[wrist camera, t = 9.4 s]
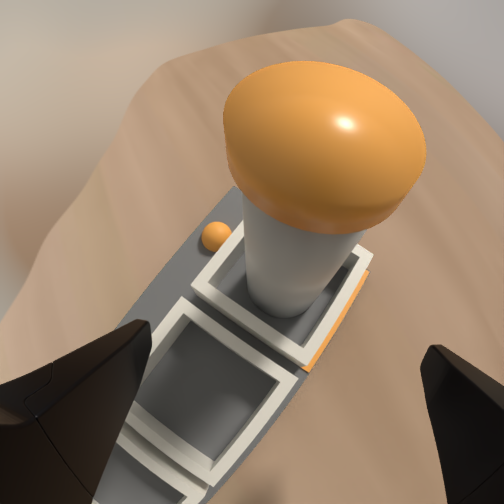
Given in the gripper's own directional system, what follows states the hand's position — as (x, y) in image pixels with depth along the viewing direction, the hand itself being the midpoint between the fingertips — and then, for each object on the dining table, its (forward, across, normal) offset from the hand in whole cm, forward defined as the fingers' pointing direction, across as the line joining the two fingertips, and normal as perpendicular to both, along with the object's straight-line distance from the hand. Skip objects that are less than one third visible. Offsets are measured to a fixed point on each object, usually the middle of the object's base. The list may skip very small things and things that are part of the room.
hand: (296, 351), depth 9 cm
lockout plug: (+8, 0, +2) cm, 8 cm away
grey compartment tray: (+5, +4, +7) cm, 9 cm away
